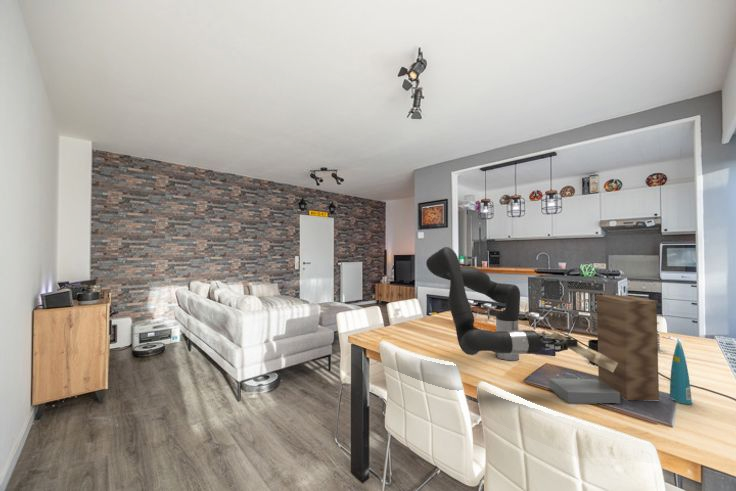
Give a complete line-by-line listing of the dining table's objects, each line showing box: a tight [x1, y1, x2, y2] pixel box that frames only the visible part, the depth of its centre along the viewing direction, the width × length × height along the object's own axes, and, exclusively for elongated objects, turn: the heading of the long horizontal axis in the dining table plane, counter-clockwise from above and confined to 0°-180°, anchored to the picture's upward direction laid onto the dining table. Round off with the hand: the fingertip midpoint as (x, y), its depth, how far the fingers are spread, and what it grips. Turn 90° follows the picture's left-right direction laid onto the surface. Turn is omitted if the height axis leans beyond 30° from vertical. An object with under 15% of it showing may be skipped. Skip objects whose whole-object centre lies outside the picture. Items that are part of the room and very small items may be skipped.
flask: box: [537, 330, 557, 357], centre depth 138 cm, size 9×3×11 cm, turn 71°
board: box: [549, 378, 621, 405], centre depth 97 cm, size 16×10×4 cm, turn 88°
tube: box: [669, 337, 693, 405], centre depth 94 cm, size 7×5×19 cm, turn 140°
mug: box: [587, 339, 598, 367], centre depth 126 cm, size 9×12×9 cm
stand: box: [594, 294, 660, 401], centre depth 100 cm, size 11×13×32 cm
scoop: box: [551, 331, 618, 372], centre depth 98 cm, size 20×6×4 cm, turn 88°
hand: (573, 341), depth 98 cm, fingers closed on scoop, 2 cm apart
